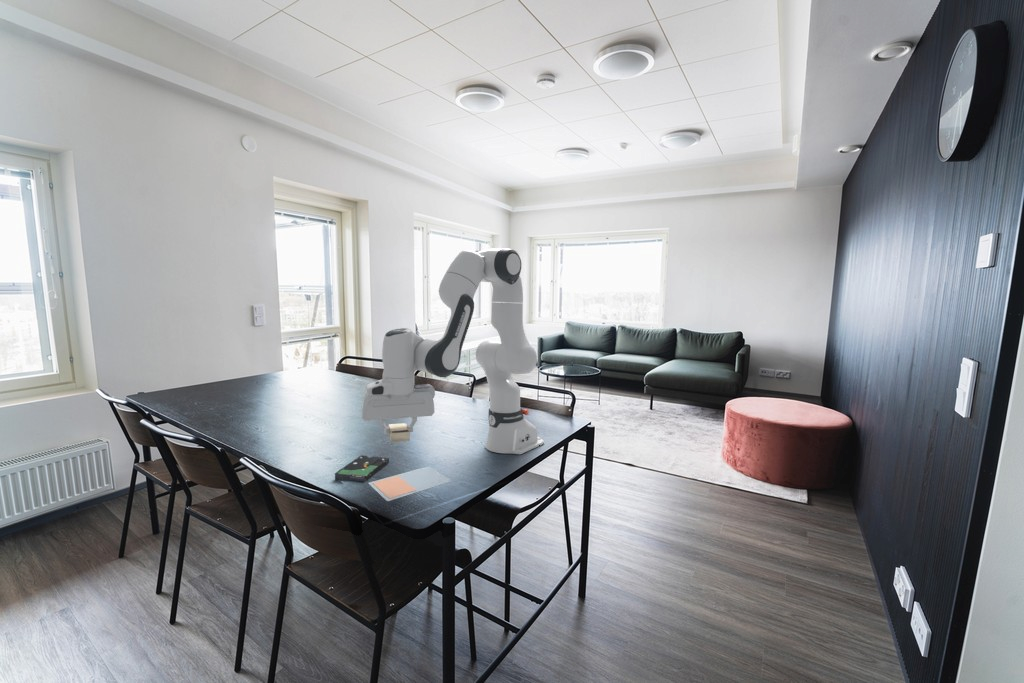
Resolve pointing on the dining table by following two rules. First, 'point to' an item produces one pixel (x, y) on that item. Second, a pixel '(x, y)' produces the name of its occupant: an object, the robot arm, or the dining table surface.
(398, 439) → the cream curved ramp
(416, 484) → the mat
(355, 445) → the dining table surface
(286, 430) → the dining table surface
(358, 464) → the disk drive
